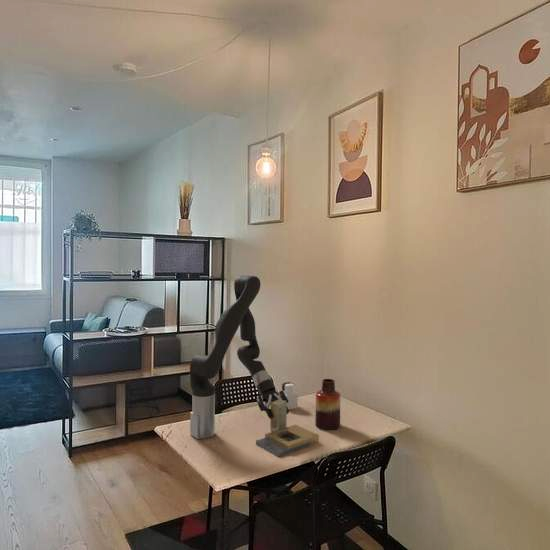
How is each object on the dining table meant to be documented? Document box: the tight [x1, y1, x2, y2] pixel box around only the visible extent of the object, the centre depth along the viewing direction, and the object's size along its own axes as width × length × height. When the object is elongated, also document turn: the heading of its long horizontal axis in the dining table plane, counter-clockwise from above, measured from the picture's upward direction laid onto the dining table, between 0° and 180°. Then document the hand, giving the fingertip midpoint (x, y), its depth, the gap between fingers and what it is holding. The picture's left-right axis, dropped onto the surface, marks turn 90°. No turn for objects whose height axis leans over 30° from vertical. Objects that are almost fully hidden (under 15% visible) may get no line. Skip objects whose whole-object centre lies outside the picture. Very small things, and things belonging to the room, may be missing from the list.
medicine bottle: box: [281, 381, 299, 410], centre depth 219 cm, size 7×7×12 cm
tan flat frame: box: [255, 424, 320, 458], centre depth 177 cm, size 21×14×3 cm, turn 129°
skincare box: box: [269, 399, 288, 432], centre depth 190 cm, size 6×4×12 cm
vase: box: [314, 378, 342, 432], centre depth 195 cm, size 11×11×20 cm
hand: (279, 415), depth 190 cm, fingers open, 8 cm apart
